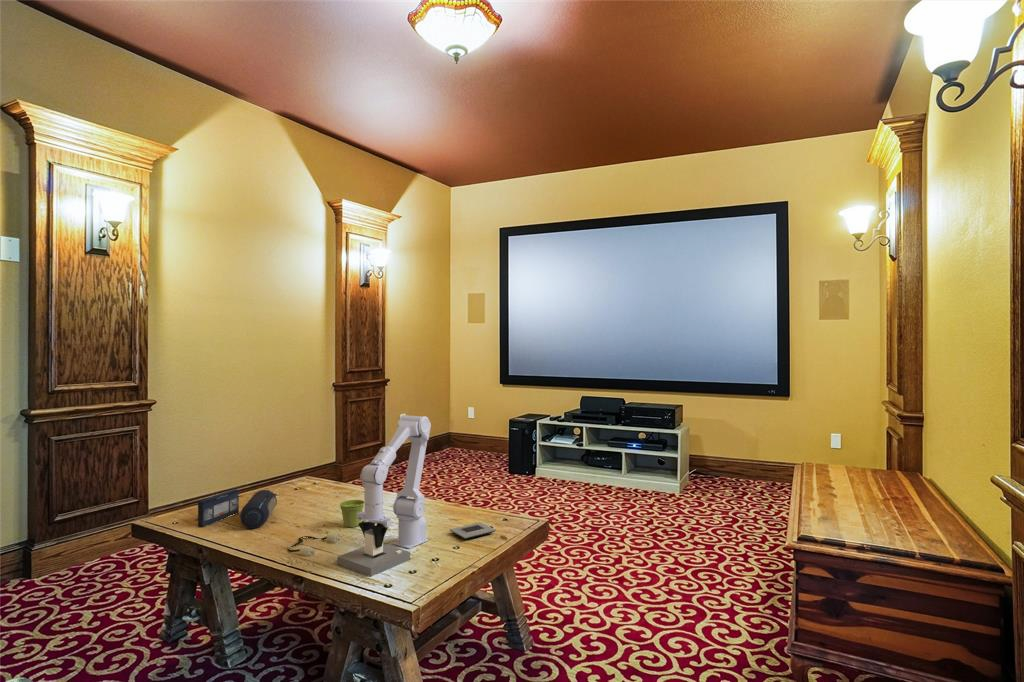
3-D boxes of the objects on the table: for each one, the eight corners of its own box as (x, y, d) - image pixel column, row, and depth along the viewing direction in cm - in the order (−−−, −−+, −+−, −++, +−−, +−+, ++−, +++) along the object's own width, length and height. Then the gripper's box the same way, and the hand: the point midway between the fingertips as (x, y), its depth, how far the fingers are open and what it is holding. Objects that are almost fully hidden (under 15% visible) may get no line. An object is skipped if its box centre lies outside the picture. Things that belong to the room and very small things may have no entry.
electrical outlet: (464, 543, 198) (464, 536, 198) (449, 534, 206) (449, 528, 206) (495, 535, 206) (495, 528, 206) (479, 527, 214) (479, 521, 214)
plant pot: (339, 523, 219) (339, 500, 219) (364, 520, 222) (364, 498, 222) (339, 530, 211) (339, 507, 210) (365, 528, 213) (365, 504, 213)
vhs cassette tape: (202, 527, 215) (202, 501, 215) (196, 527, 216) (196, 501, 216) (240, 513, 233) (239, 489, 232) (234, 513, 233) (234, 488, 233)
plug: (374, 549, 183) (374, 527, 183) (382, 552, 181) (382, 530, 181) (364, 553, 180) (364, 531, 180) (373, 555, 178) (372, 533, 178)
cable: (272, 553, 190) (272, 543, 190) (306, 537, 205) (306, 527, 205) (309, 559, 184) (309, 548, 184) (341, 542, 200) (341, 532, 200)
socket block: (377, 549, 192) (376, 540, 192) (410, 559, 182) (410, 550, 182) (337, 564, 179) (337, 554, 179) (371, 576, 169) (370, 566, 169)
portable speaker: (266, 530, 212) (266, 503, 212) (237, 532, 210) (237, 505, 210) (278, 510, 237) (278, 486, 237) (252, 512, 234) (252, 488, 234)
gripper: (348, 501, 181) (349, 544, 181) (379, 509, 173) (379, 554, 173) (366, 497, 187) (366, 538, 187) (396, 504, 179) (396, 547, 179)
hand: (374, 545), depth 180 cm, fingers closed on plug, 4 cm apart
